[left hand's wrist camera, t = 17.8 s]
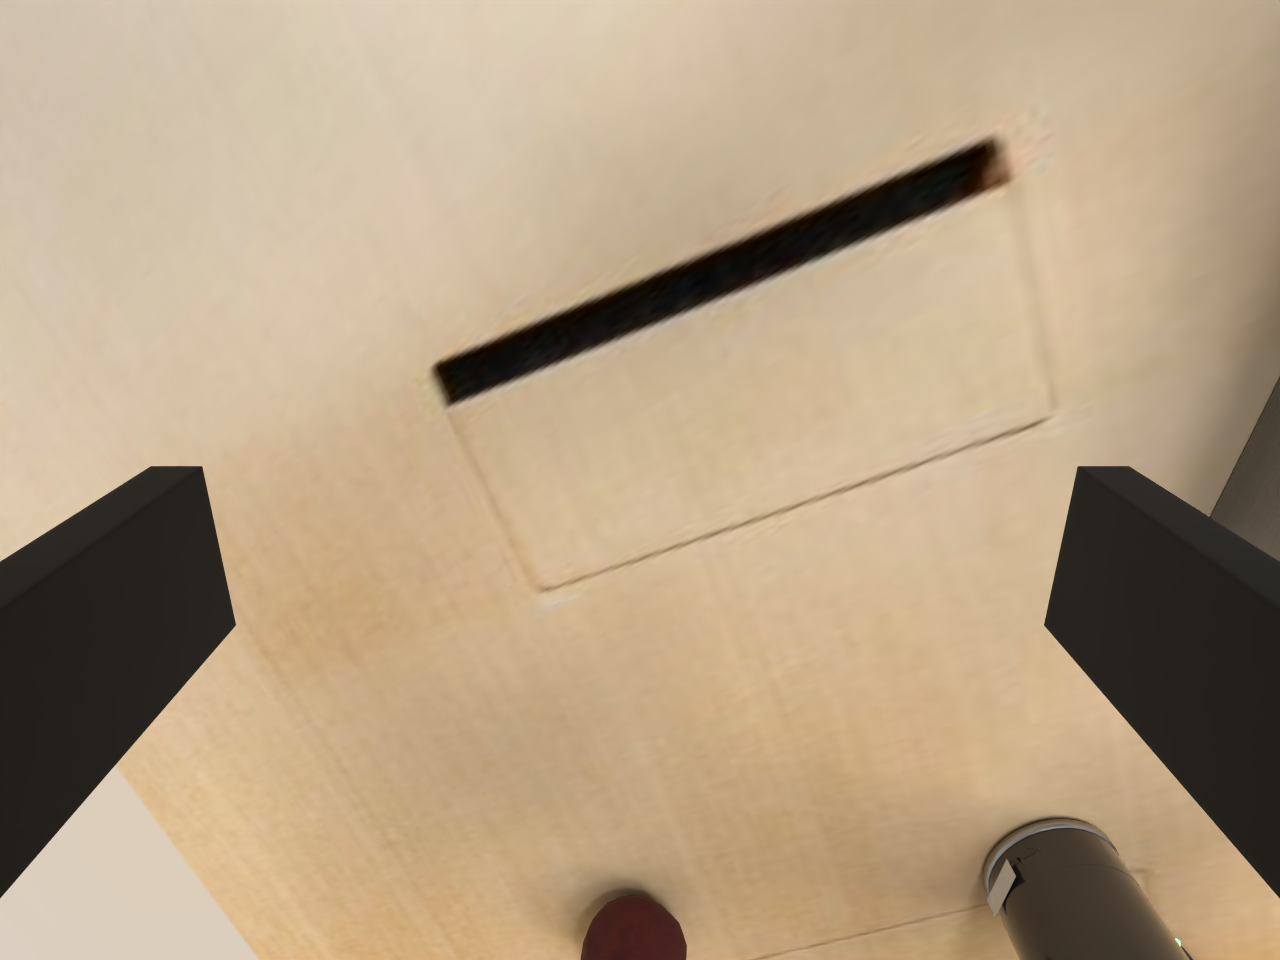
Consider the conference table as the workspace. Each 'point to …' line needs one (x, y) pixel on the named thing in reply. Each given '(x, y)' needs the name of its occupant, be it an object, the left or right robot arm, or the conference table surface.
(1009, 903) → the right robot arm
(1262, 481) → the box
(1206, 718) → the left robot arm
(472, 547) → the conference table surface
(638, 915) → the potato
